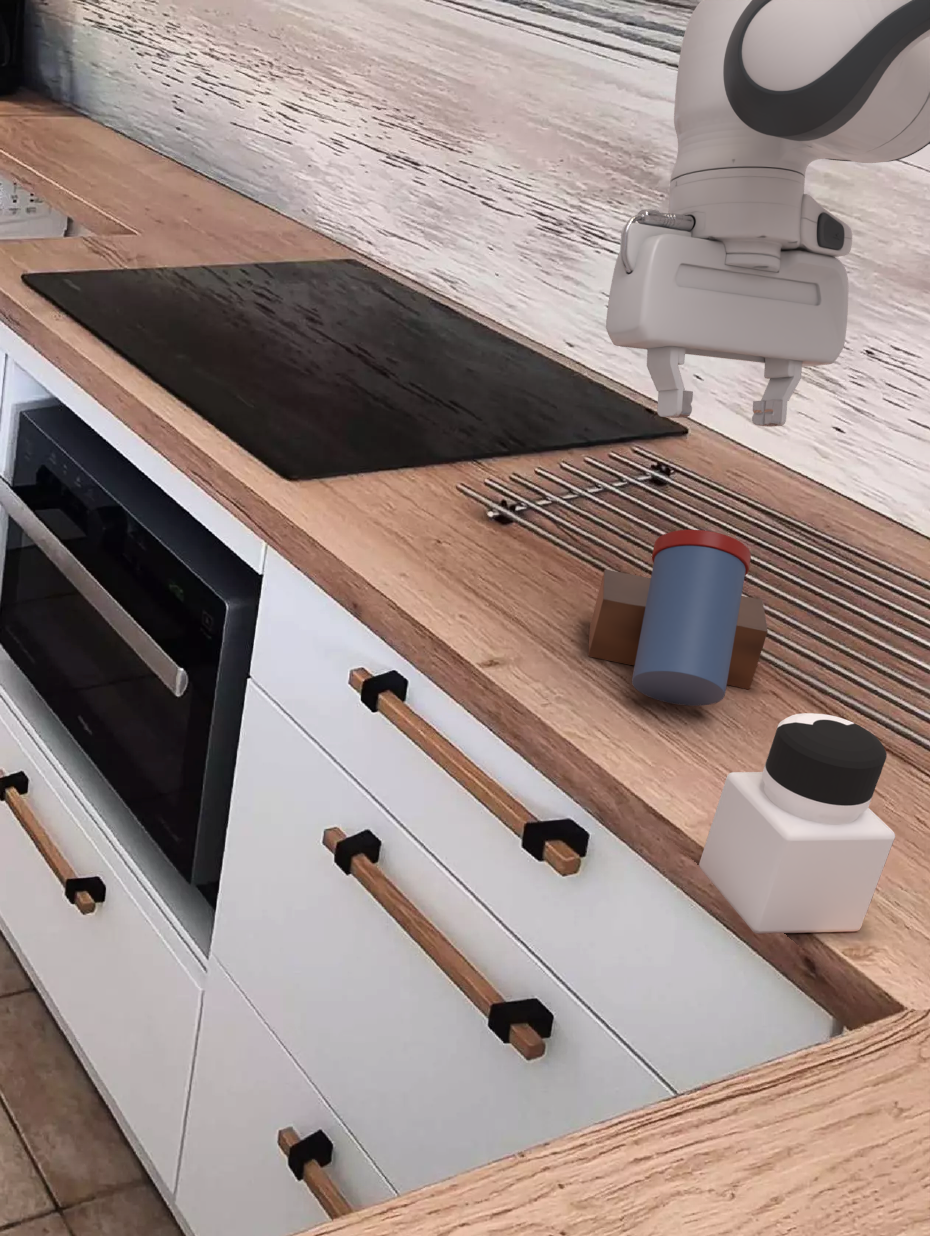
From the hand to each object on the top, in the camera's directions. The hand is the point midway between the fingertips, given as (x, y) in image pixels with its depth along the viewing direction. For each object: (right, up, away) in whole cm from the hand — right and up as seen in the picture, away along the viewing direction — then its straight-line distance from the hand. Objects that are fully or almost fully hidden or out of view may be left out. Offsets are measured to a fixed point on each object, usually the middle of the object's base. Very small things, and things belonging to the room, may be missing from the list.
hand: (722, 421), depth 123 cm
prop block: (+1, -17, +13) cm, 21 cm away
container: (-1, -14, +4) cm, 15 cm away
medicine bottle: (-3, -32, -16) cm, 36 cm away
